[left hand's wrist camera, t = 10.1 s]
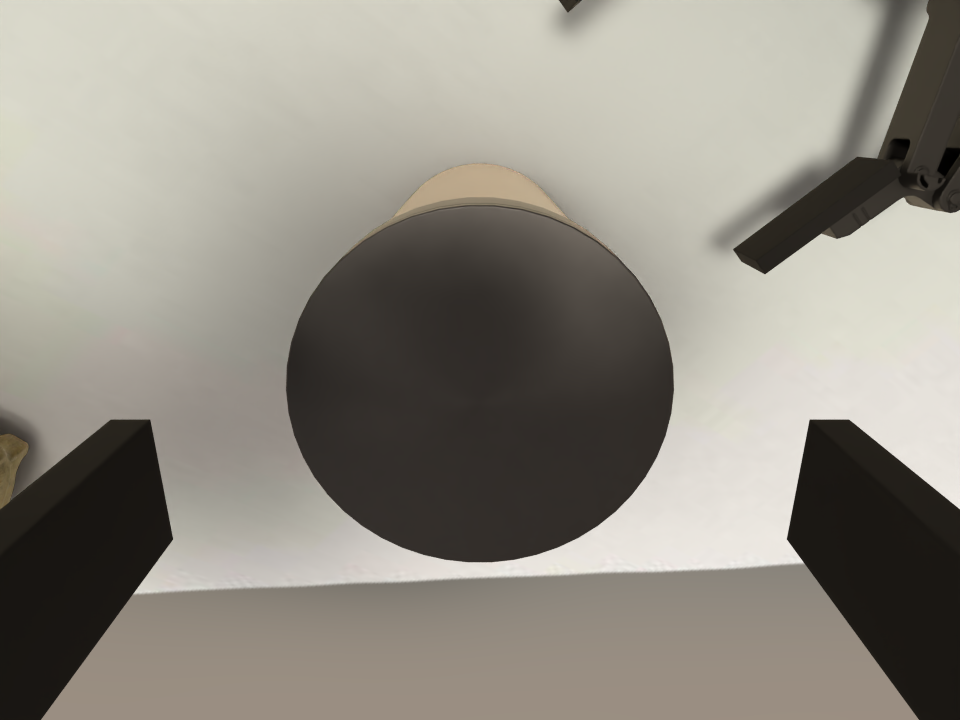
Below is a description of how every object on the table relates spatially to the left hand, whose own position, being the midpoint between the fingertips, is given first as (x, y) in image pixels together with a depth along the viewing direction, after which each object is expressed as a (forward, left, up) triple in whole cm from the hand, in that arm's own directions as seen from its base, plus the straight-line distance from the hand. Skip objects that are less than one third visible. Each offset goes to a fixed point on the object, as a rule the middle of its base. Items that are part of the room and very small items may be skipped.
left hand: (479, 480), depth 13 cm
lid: (0, 0, -4) cm, 4 cm away
